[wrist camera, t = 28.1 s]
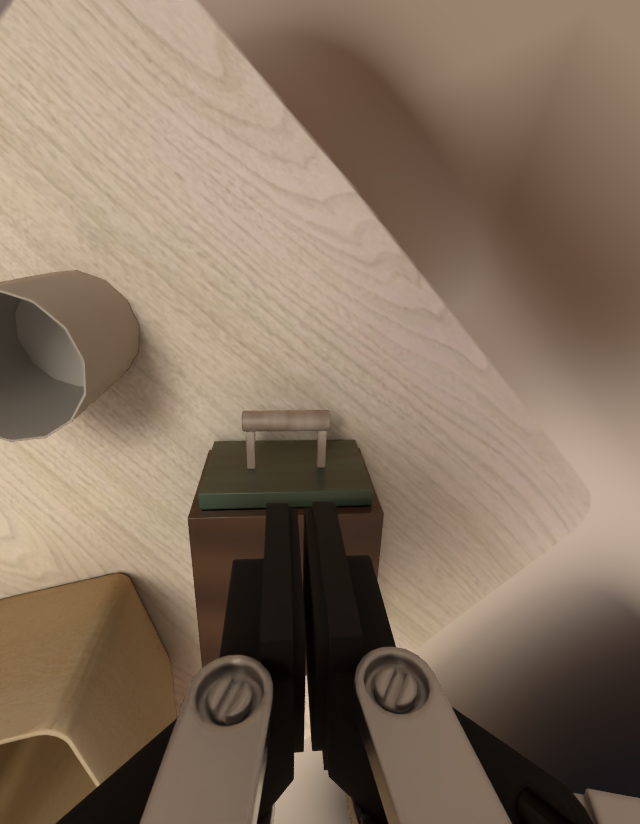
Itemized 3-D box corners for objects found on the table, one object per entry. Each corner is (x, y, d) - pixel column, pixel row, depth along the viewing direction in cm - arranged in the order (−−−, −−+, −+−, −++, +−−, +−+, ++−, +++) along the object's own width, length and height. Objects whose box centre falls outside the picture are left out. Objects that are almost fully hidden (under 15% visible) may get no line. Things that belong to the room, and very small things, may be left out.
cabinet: (209, 449, 37) (187, 518, 28) (359, 447, 38) (383, 513, 30) (219, 587, 43) (203, 681, 34) (350, 582, 44) (368, 671, 35)
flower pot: (35, 719, 47) (-85, 961, 32) (-63, 582, 40) (-282, 808, 24) (212, 677, 47) (179, 899, 31) (146, 532, 40) (61, 726, 24)
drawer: (210, 390, 35) (193, 432, 27) (358, 390, 36) (378, 431, 28) (223, 575, 41) (211, 648, 34) (346, 570, 42) (361, 640, 35)
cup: (109, 404, 35) (48, 466, 26) (1, 348, 33) (-107, 394, 24) (158, 312, 33) (112, 344, 24) (46, 245, 31) (-54, 252, 21)
